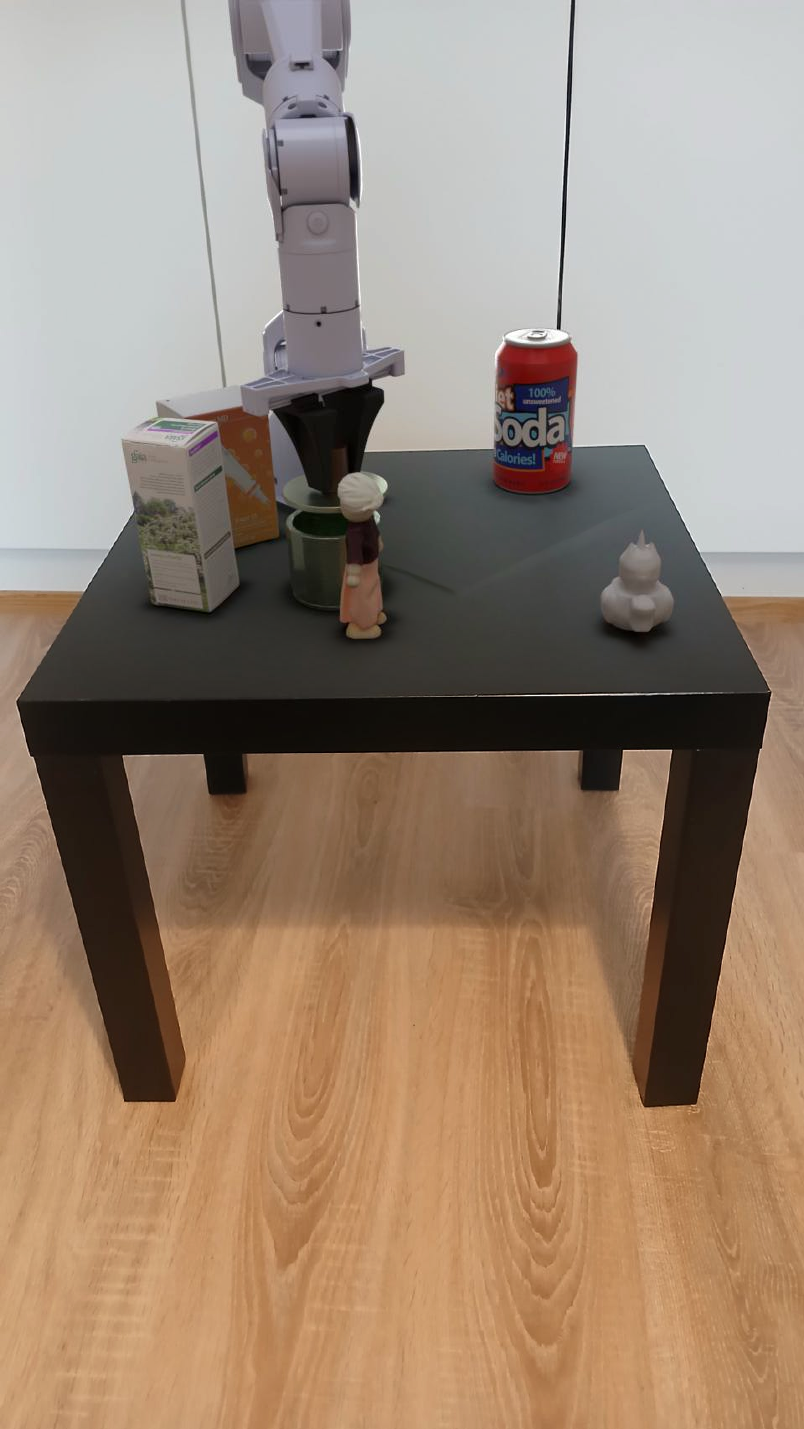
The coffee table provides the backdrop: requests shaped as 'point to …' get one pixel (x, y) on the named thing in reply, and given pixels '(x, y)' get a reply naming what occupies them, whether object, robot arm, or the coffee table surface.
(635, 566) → the horned animal figurine
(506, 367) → the soda can
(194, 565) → the syrup box
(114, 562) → the coffee table surface
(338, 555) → the pot
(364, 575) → the grandmother figurine
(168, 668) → the coffee table surface
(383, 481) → the pot lid
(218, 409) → the small box
